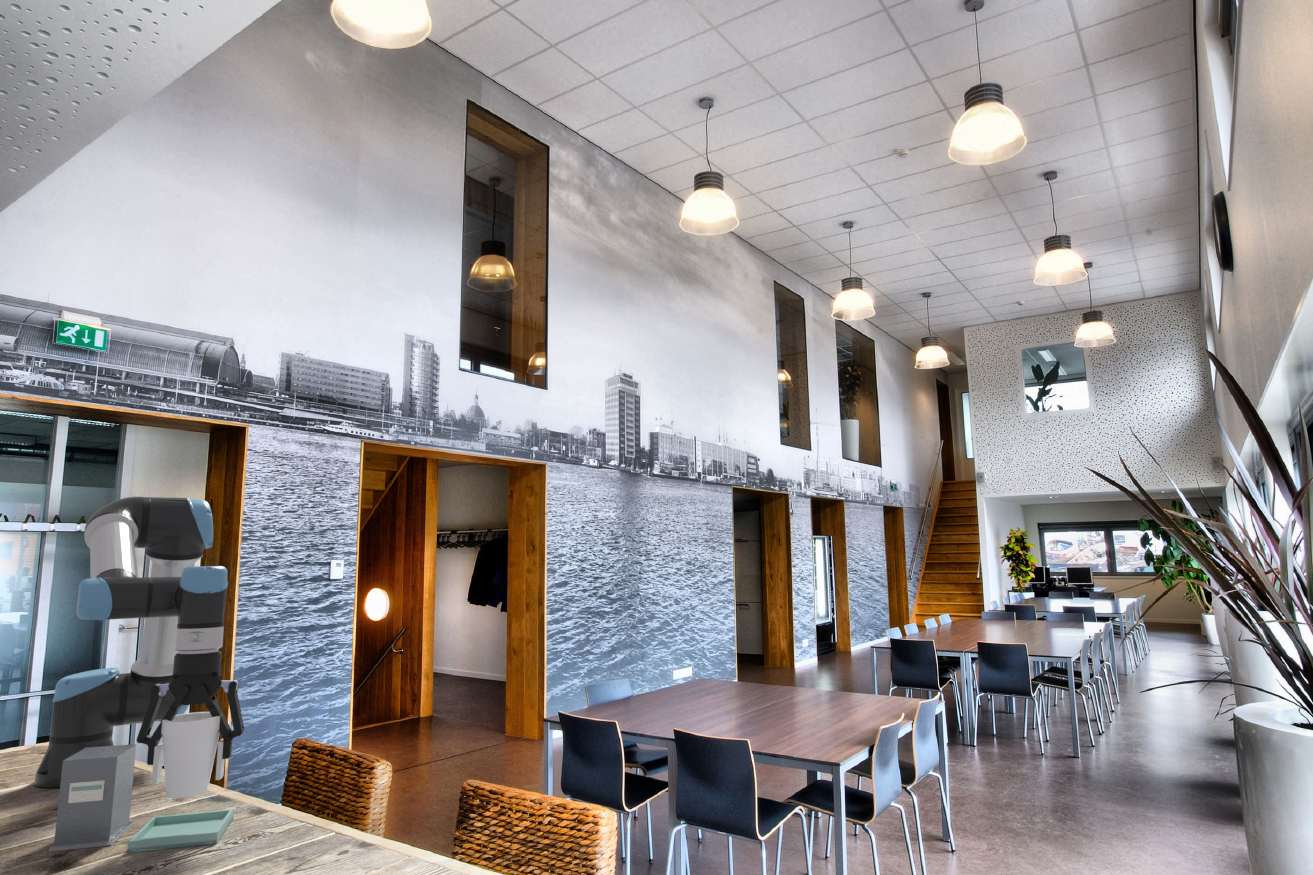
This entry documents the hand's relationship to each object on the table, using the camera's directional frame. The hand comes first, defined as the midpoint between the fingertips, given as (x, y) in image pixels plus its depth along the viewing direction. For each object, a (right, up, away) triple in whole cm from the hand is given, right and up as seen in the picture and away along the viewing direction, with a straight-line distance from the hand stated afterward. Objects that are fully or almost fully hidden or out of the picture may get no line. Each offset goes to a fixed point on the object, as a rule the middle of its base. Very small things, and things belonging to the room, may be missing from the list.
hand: (188, 780), depth 137 cm
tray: (0, -9, -1) cm, 9 cm away
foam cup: (0, -2, 0) cm, 2 cm away
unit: (-15, -9, -2) cm, 18 cm away
